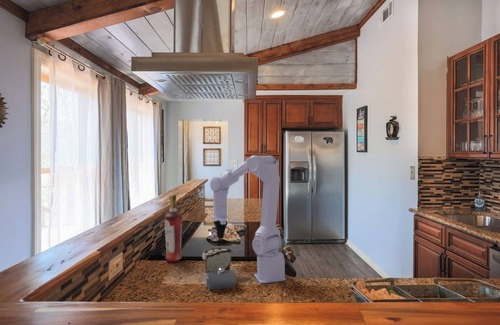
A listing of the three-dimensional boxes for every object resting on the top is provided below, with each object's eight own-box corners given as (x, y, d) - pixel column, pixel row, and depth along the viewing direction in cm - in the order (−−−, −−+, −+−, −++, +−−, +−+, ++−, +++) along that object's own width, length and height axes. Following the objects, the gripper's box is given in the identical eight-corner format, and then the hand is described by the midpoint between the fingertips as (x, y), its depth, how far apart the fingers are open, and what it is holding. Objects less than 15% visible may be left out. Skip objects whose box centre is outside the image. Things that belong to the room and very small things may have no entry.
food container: (223, 269, 114) (222, 243, 114) (233, 273, 109) (232, 246, 109) (195, 278, 105) (195, 250, 105) (205, 283, 101) (204, 254, 101)
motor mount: (232, 278, 105) (232, 261, 105) (237, 286, 97) (236, 268, 97) (204, 281, 102) (204, 264, 102) (207, 290, 95) (206, 271, 95)
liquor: (161, 260, 124) (160, 195, 124) (175, 256, 130) (174, 193, 129) (171, 264, 119) (170, 196, 119) (186, 259, 125) (185, 194, 125)
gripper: (208, 203, 128) (208, 234, 128) (213, 209, 114) (213, 243, 114) (224, 203, 129) (224, 233, 130) (230, 208, 116) (231, 242, 116)
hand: (220, 238), depth 122 cm, fingers closed
